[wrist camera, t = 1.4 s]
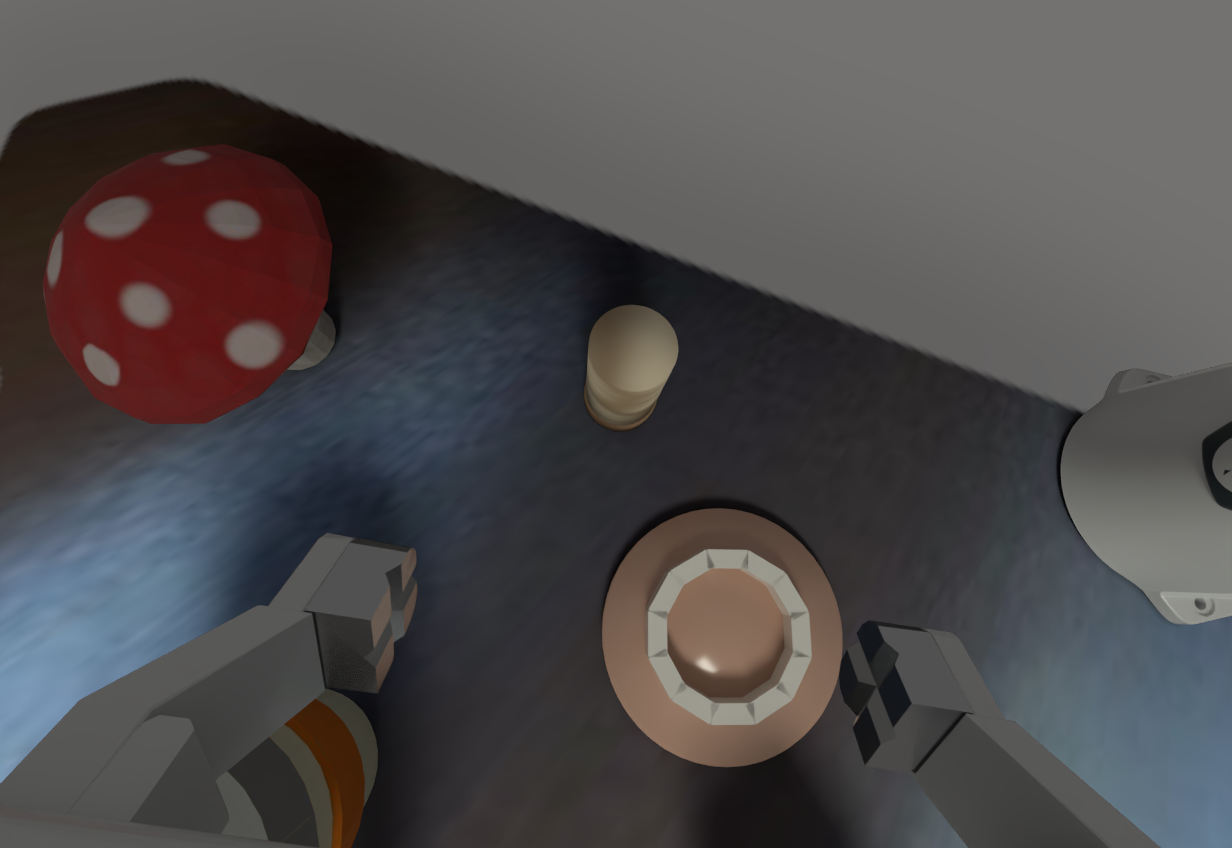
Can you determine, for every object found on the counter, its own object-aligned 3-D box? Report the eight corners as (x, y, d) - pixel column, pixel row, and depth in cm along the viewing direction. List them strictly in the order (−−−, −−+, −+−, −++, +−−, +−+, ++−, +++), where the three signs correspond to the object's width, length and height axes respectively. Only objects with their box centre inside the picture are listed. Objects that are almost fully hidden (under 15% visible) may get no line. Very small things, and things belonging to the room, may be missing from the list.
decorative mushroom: (298, 500, 37) (119, 463, 23) (114, 373, 38) (-169, 259, 24) (444, 319, 41) (372, 187, 26) (273, 208, 42) (113, 22, 27)
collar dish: (827, 511, 40) (842, 508, 37) (846, 761, 36) (864, 774, 34) (603, 506, 38) (605, 503, 36) (599, 763, 35) (600, 778, 32)
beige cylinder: (654, 364, 41) (679, 305, 32) (655, 432, 40) (680, 392, 30) (585, 362, 41) (587, 301, 31) (583, 430, 40) (585, 389, 30)
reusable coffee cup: (144, 798, 33) (-204, 994, 18) (296, 614, 35) (102, 654, 21) (308, 937, 32) (80, 1263, 17) (451, 737, 34) (360, 868, 20)
